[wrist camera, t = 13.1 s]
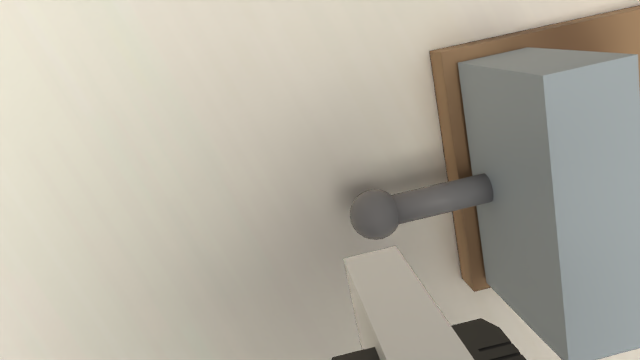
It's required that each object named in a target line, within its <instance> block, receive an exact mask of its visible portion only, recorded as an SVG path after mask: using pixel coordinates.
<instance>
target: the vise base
mask: <svg viewBox="0 0 640 360" xmlns="http://www.w3.org/2000/svg"><path fill="white" fill-rule="evenodd" d="M527 47H530V48H546V49H561V50H577V51H593V52H608V53H624V54H638V68H639V91H640V6H635V7H630V8H626V9H621V10H617V11H612V12H607V13H603V14H598V15H594V16H589V17H584V18H580V19H575V20H571V21H566V22H561V23H557V24H552V25H548V26H543V27H538V28H534V29H529V30H525V31H520V32H515V33H511V34H506V35H502V36H497V37H492V38H488V39H483V40H479V41H474V42H469V43H465V44H460V45H456V46H451V47H446V48H442V49H437V50H433V51H430V58H431V65H432V72H433V79H434V86H435V93H436V100H437V107H438V114H439V121H440V128H441V135H442V141H443V148H444V155H445V162H446V169H447V176H448V182H449V181H453V180H457V179H461V178H466V177H470V176H472V168H471V161H470V153H469V146H468V138H467V130H466V123H465V115H464V107H463V100H462V92H461V84H460V77H459V69H458V62H463V61H468V60H472V59H477V58H481V57H486V56H490V55H495V54H499V53H504V52H508V51H513V50H518V49H522V48H527ZM453 218H454V225H455V232H456V239H457V246H458V253H459V260H460V267H461V274H462V279H463V280H464V281H465V282H466V283H467V284H468V285H469V286H470V288H471V289H472V290H473V291H474V292H475V291H479V290H483V289H487V288H491V287H490V286H489V285H488V284H487V283H486V275H485V268H484V260H483V253H482V245H481V237H480V230H479V222H478V214H477V207H476V206H472V207H468V208H464V209H460V210H456V211H453Z"/></svg>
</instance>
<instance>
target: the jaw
mask: <svg viewBox="0 0 640 360" xmlns="http://www.w3.org/2000/svg"><path fill="white" fill-rule="evenodd" d="M458 69H459V77H460V84H461V92H462V100H463V107H464V115H465V123H466V130H467V138H468V146H469V153H470V161H471V168H472V176H470V177H466V178H461V179H457V180H453V181H449V182H445V183H440V184H436V185H432V186H428V187H423V188H419V189H415V190H411V191H407V192H402V193H398V194H394V195H390V194H389V193H387V192H385V191H383V190H378V189H372V190H368V191H365V192H363V193H361V194H360V195H359V196H358V197H357V198H356V199H355V200H354V202H353V204H352V206H351V210H350V219H351V223H352V225H353V227H354V229H355V230H356V231H357V232H358V233H359V234H360V235H362V236H363V237H365V238H368V239H374V240H377V239H383V238H385V237H387V236H389V235H391V234H392V233H393V232H394V231H395V230H396V228H397V226H398V224H402V223H406V222H410V221H414V220H419V219H423V218H427V217H431V216H435V215H439V214H443V213H448V212H452V211H456V210H460V209H464V208H468V207H472V206H476V207H477V214H478V222H479V230H480V237H481V245H482V253H483V260H484V268H485V275H486V283H487V284H488V285H489V286H490V287H491V288H492V289H493V290H494V291H495V292H496V293H497V294H498V295H499V296H500V297H501V298H502V299H503V300H504V301H505V302H506V303H507V304H508V305H509V306H510V307H511V308H512V309H513V310H514V311H515V312H516V313H517V314H518V315H519V316H520V317H521V318H522V319H523V320H524V321H525V322H526V323H527V325H528V326H529V327H530V328H531V329H532V330H533V331H534V332H535V333H536V334H537V335H538V336H539V337H540V338H541V339H542V340H543V341H544V342H545V343H546V344H547V345H548V346H549V347H550V348H551V349H552V350H553V351H554V352H555V353H556V354H557V355H558V356H559V357H560V358H561V359H562V360H597V359H601V358H605V357H608V356H612V355H616V354H619V353H623V352H627V351H631V350H634V349H638V348H640V91H639V68H638V54H624V53H608V52H593V51H577V50H561V49H546V48H530V47H527V48H522V49H518V50H513V51H508V52H504V53H499V54H495V55H490V56H486V57H481V58H477V59H472V60H468V61H463V62H458Z"/></svg>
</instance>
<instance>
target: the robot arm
mask: <svg viewBox="0 0 640 360" xmlns="http://www.w3.org/2000/svg"><path fill="white" fill-rule="evenodd" d="M343 260H344V265H345V270H346V274H347V279H348V284H349V289H350V294H351V299H352V304H353V309H354V314H355V319H356V324H357V328H358V333H359V338H360V343H361V346H362V349H363V350H360V351H356V352H352V353H348V354H344V355H340V356H336V357H332V360H526V359H525V358H524V356H523V355H521V354H520V352H519V350H518V349H517V348H516V347H515V346H514V344H511V341H510V340H509V339H508V337H507V336H506V335H505V334H504V333H503V331H502V330H501V329H500V328H499V327H497V326H495V325H493V324H491V323H489V322H487V321H485V320H483V319H481V318H480V319H476V320H472V321H469V322H465V323H461V324H457V325H453V326H451V325H450V324H449V322H448V321H447V319H446V318H445V316H444V315H443V314H442V312H441V311H440V309H439V308H438V306H437V305H436V303H435V302H434V300H433V299H432V298H431V296H430V295H429V293H428V292H427V290H426V289H425V287H424V286H423V284H422V283H421V282H420V280H419V279H418V277H417V276H416V274H415V273H414V271H413V270H412V268H411V267H410V266H409V264H408V263H407V261H406V260H405V258H404V257H403V255H402V254H401V252H400V251H399V250H398V248H397V247H396V246H393V247H388V248H384V249H380V250H376V251H372V252H368V253H363V254H359V255H355V256H351V257H347V258H343Z"/></svg>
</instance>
